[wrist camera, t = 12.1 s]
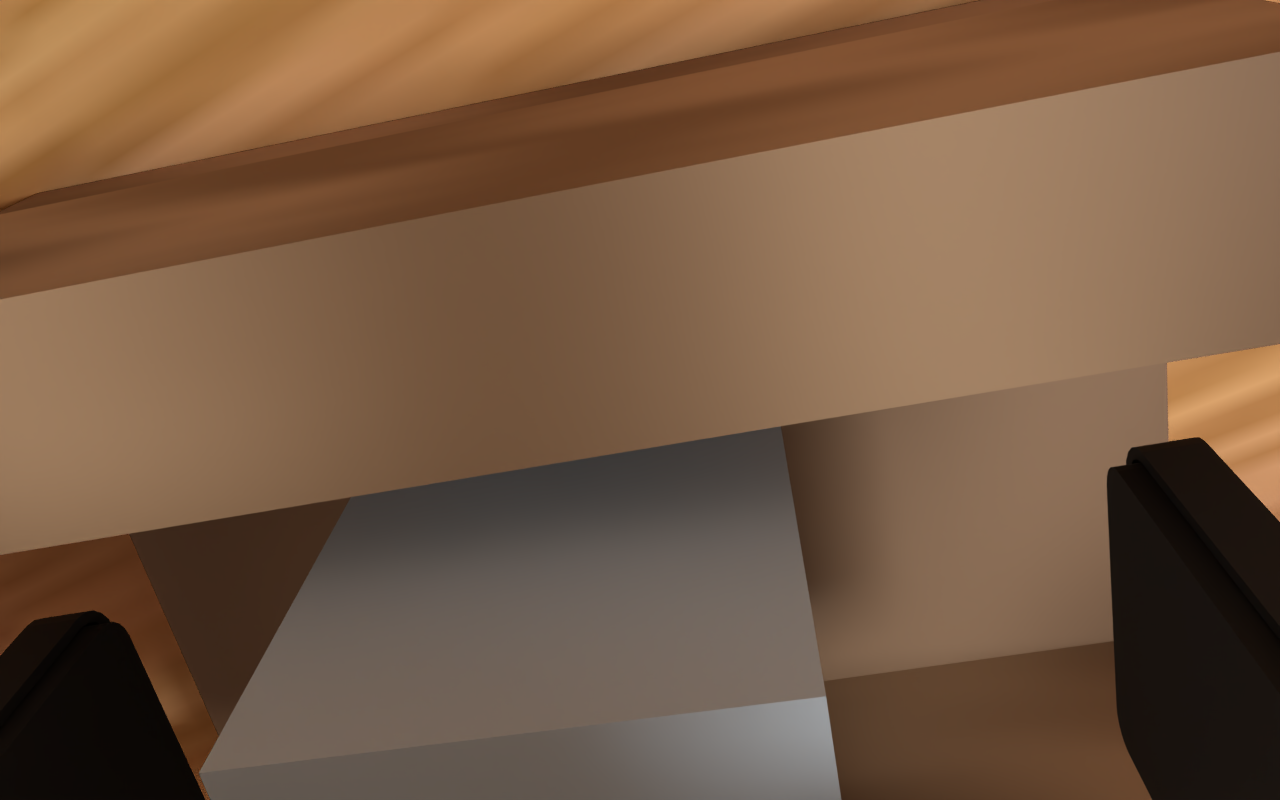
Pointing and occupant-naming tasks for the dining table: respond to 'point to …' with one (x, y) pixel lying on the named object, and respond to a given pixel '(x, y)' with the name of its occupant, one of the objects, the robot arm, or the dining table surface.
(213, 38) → the dining table surface
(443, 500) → the block
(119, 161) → the dining table surface
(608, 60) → the dining table surface
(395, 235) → the notched board
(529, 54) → the dining table surface
